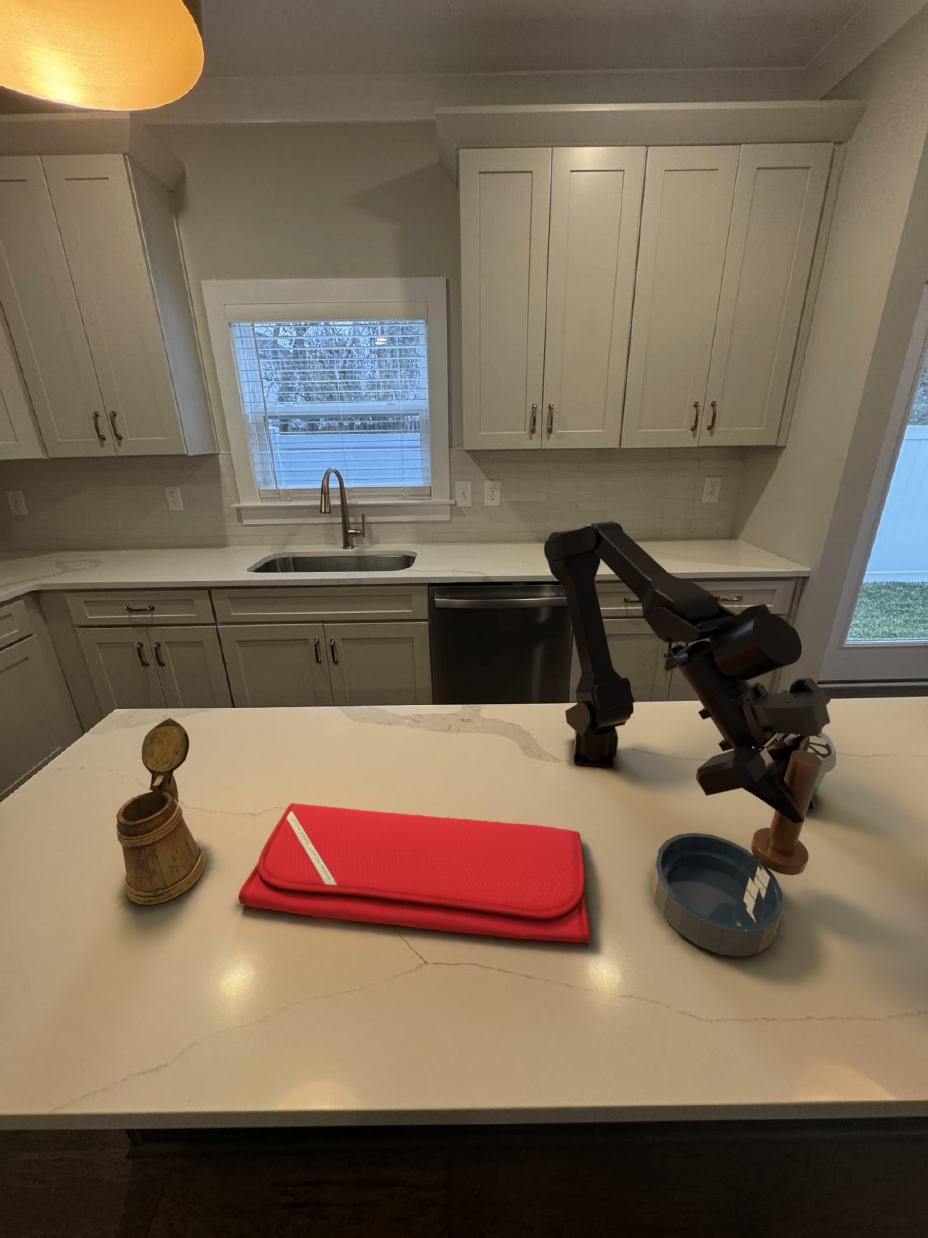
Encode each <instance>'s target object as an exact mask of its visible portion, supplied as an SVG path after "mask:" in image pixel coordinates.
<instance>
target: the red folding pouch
mask: <svg viewBox="0 0 928 1238" xmlns="http://www.w3.org/2000/svg"><path fill="white" fill-rule="evenodd" d="M585 878H586V877H585V863H584V853H583V845H582V838H581V833H580V832H579V831H577V830H571V829H565V828H558V827H552V826H548V825H547V826H545V825H538V824H528V823H517V822H516V823H513V822H503V821H502V822H501V821H492V820H491V821H488V820H479V819H469V818H458V817H456V818H455V817H441V816H432V815H431V816H430V815H422V814H410V813H409V814H407V813H398V812H396V813H395V812H388V811H387V812H386V811H376V810H375V811H374V810H364V809H355V808H345V807H336V806H326V805H314V804H305V803H294V802H292V803H290V804H289V805H288V806H287V807H286V809H285V810H284V812H283V813H282V816H281V817H280V819H279V820H278V822H277V823H276V825H275V827H274V828H273V830H272V831H271V833H270V835H269V837H268V838H267V840H266V842H265V844H264V846H263V848H262V850H261V852H260V855H259V857H258V862H257V863H256V865H255V866H254V868H253V869H252V871H251V872H250V873H249V876H248V877H247V878H246V880H245V882H244V883H243V885H242V886H241V888H240V890H239V892H238V901H239V903H240V904H241V905H242V906H248V907H251V908H255V909H257V908H258V909H266V910H272V911H279V912H286V913H294V914H299V915H305V916H313V917H321V918H331V919H339V920H347V921H355V922H363V923H376V924H387V925H396V926H402V927H410V928H411V927H412V928H418V929H426V930H437V931H445V932H453V933H463V934H464V933H465V934H472V935H473V934H474V935H485V936H486V935H487V936H495V937H502V938H510V939H526V940H542V941H558V942H567V943H568V942H569V943H584V944H589V943H590V942H591V933H590V925H589V918H588V912H587V910H588V909H587V905H586V904H587V903H586V896H585V888H586V887H585V886H586V885H585V884H586V879H585Z"/></svg>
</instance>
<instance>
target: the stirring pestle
mask: <svg viewBox="0 0 928 1238" xmlns="http://www.w3.org/2000/svg"><path fill="white" fill-rule="evenodd" d="M821 765H822V761H821V759H820V758H819V757H818V756H817V755H815V754H813V753H811V752H808V751H804V750H795V751H793V752H792V753H791V756H790V760H789V763H788V767H787V770H786V774H785V777H784V781H785V783H786V785H787V786H788V788H789V790H790V792H791V794H792V796H793V797H794V799H795V801H796V803H797V805H798V807H799V809H800V811H801V813H802V815H803V818H804V821H803V822H802V823H793V822H792V821H791V820H789V819H788V818H786V817H785V816H783V815H782V814H781V813H779V812H778V811H776V810H775V809H774V813H773V816H772V820H771V825H770V827H762V828H759V829H757V830H756V831H755V832H754V833H753V834H752V835H753V836H752V840H751V843H750V850H751V853H752V854H753V855H754V856H755V858H756V859H757V860H758V861H759V862H760V863H761V864H763V865H764V866H765V867H767V868H768V869H769V870H770V871H771V872H772V871H773V872H774V873H777V874H781V875H786V876H798V875H800V874H802V873H803V872H804V871H805V870H806V869H807V865H808V862H809V859H810V856H809V851H808V849H807V847H806V846H805V844H804V843H803V842H801V840H799V838H800V835H801V833H802V828H803V826H804V824H805V819H806V816H807V812H808V810H809V809H808V807H809V803H810V800H811V797H812V794H813V791H814V787H815V784H816V781H817V778H818V775H819V771H820V768H821Z"/></svg>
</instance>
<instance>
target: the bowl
mask: <svg viewBox="0 0 928 1238" xmlns="http://www.w3.org/2000/svg"><path fill="white" fill-rule="evenodd" d="M654 862H655V864H654V870H653V875H652V880H651V889H652V895H653V899H654V900H653V901H654V902H655V904H656V906H657V908H658V910H659V911H660V914H661V915H662V917H663V918H664V919H665V921H667V922H668V923H669V924H670V925H671V927H673V929H675V931H676V932H677V933H679V934H680V935H681V936H683V937H684V938H686V939H687V940H689V941H690V942H692V943H693V944H694V945H696V946H697V947H700V948H703V949H705V950H707V951H711V952H713V953H715V954H718V955H723V956H731V957H737V958H738V957H739V958H740V957H741V958H742V957H746V956H754V955H757V954H759V953H760V952H762V951H763V950H765V949H767V948H768V947H769V946H770V945H771V944H772V942H773V939H774V937H775V935H776V933H777V930H778V928H779V924H780V920H781V918H782V915H783V911H784V894H783V890H782V888H781V886H780V884H779V882H778V880H777V878H776V876H775V875H774V874H773V872H772V870H770V869H769V868H767V867H765V866H764V865H763V864H761V863H760V862H759V861H758V860H757V859H756V858H755V856H754V855H753V853H752V852H750V851H749V850H748V849H746V848H745V847H742V846H741V845H738V844H737V843H735V842H733V841H731V840H730V839H727V838H724V837H721V836H716V835H713V834H709V833H701V832H688V833H681V834H676V835H675V836H673V837H670V838H668V839H667V840H665V841H664V842H663V844H661V846H660V847H659V848H658V850H657V853H656V859H655V861H654Z"/></svg>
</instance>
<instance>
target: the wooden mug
mask: <svg viewBox="0 0 928 1238" xmlns="http://www.w3.org/2000/svg"><path fill="white" fill-rule="evenodd" d="M189 750H190V737H189V734H188V732H187V730H186V729H185V727H184V726H182V725H181V724H180V723H179V722H177V721H176V720H175V719H173V718H171V717H168V718H166V719H165V720H163V721H161V722H160V723H158V724H157V725H155V726H154V727H153V728H151V729H150V730H149V731H148V732H147V734H146V735H145V736H144V739H143V742H142V745H141V760H142V764H143V766H144V767H145V769H146V770H147V771H148V772H149V773H150V774H151V776H150V777H151V778H150V785H149V791H148V792H145V793H142V794H139V795H136V796H133V797H131V798H130V799H129V800H127V801H126V802H125V803H124V804H123V805H122V806H121V807H120V808H119V809H118V811H117V813H116V815H115V816H116V824H115V830H116V837H117V841H118V842H119V844H120V845H121V849H122V855H123V861H124V862H123V863H124V867H125V876H124V882H125V893H126V895H127V897H128V899H129V900H130V901H131V902H133V903H134V904H135V903H136V904H138V905H143V906H147V905H158V904H162V903H166V902H168V901H170V900H172V899H174V898H177V897H178V896H181V895H182V894H184V893H185V892H187V891H188V890H189V889H190V888H192V887H193V886H194V885H195V884H196V883H197V881H198V880H199V879H200V877H201V875H202V874H203V871H204V869H205V866H206V856H205V853H204V851H203V849H202V847H201V845H200V844H199V843H198V841H196V840H195V838H194V836H193V834H192V831H190V829H189V826H188V825H187V823H186V821H185V819H184V816H183V809H182V807H181V805H180V803H179V791H178V785H177V781H176V778H175V776H174V771H176V770H178V769H179V768H180V767H181V766H182V765H183V763H185V761H186V759H187V757H188V754H189Z"/></svg>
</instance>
